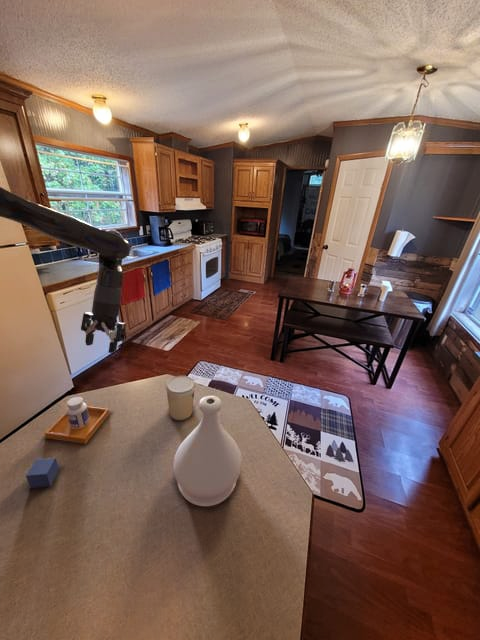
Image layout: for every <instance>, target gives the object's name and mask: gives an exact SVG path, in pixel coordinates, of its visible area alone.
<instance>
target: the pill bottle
mask: <svg viewBox="0 0 480 640" xmlns="http://www.w3.org/2000/svg"><path fill="white" fill-rule="evenodd" d="M66 405H67V408H66V412H67V416H68V419H69V423H70V426H71V428H72V429H81V428H83V427H85V426H86V425H87V424H88V423H89V421H90V418H89V413H88V409H87V406H88V405H87V403H85V402H84V399H83V397H82V396H74V397H71V398H69V399H68V401H67V402H66Z"/></svg>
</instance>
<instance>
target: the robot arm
mask: <svg viewBox="0 0 480 640" xmlns="http://www.w3.org/2000/svg"><path fill="white" fill-rule="evenodd" d="M0 218H4V219H7V220H10V221H13V222H15V223H18V224H20V225H23V226H25V227H28V228H30V229H32V230H34V231H36V232H38V233H41V234H43V235H45V236H47V237H49V238H52V239H53V240H54V239H55V240H57V241H60V242H62V243H65V244H68V245H71V246H74V247H77V248H81V249H85V250H89V251H92V252H94V253H96V254H98V270H97V276H96V284H95V288H94V290H93V298H92V307H91V311H90V312H83V314H82V320H81V326H80V330H81V332H84V333H85V340H84V341H85V345H86V346H92V345H93V344H94V337H95V332H96V331H97V332H98V331H99V332H101V333H105V335H106V336H107V337H108V338H109V340H110V341H109V345H108V353H110V354H113V353H115V352H116V351H117V348H118V343H120V342H123V341H125V338H126V337H125V336H126V327H127V324H126V322H119V321H118V316H119V315H120V308H121V301H122V288H123V281H124V270H123V267H122V265H123V260H124V259H126V258H128V256H129V255H130V253H131V245H130V243H129V241H128V240H127V239H126V238H125V237H123V236H122V235H119V234H116V233H114V232H111V231H108V230H105V229H102V228H99V227H95V226H93V225H91V224H89V223H87V222H85V221H83V220H80V219H78V218H75V217H73V216H70V215H67V214H65V213H62V212H59V211H57V210H54V209H52V208H48V207H47V206H44V205H41V204H39V203H36V202H34V201H31V200H28V199H27V198H24V197H22V196H20V195H18V194H16V193H13V192H11V191H9V190H7V189H6V188H3V187H1V186H0Z"/></svg>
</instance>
